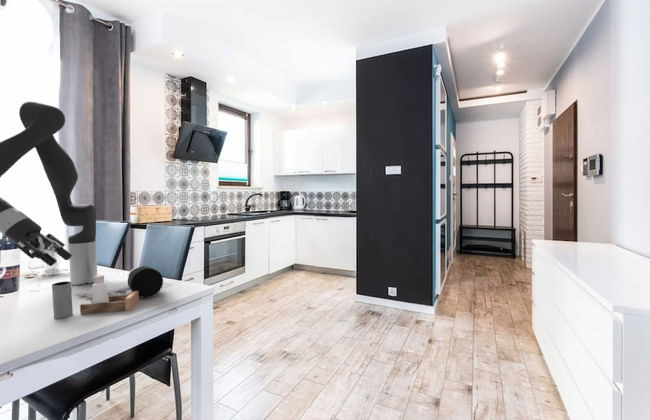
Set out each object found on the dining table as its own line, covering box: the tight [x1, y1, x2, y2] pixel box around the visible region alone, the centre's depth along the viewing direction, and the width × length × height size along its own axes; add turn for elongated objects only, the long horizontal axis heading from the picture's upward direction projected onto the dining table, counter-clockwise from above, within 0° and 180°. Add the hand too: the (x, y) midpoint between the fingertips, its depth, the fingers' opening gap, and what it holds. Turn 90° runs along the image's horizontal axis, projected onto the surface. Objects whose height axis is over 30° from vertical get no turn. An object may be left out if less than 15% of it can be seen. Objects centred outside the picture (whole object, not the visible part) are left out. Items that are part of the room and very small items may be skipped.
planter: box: [51, 280, 74, 320], centre depth 99 cm, size 4×4×10 cm
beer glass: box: [42, 243, 62, 277], centre depth 150 cm, size 7×7×15 cm
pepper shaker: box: [91, 274, 109, 303], centre depth 104 cm, size 5×5×11 cm
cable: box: [127, 265, 164, 298], centre depth 127 cm, size 10×34×10 cm, turn 36°
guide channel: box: [79, 291, 140, 315], centre depth 105 cm, size 14×8×4 cm, turn 103°
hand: (62, 260), depth 101 cm, fingers open, 8 cm apart
